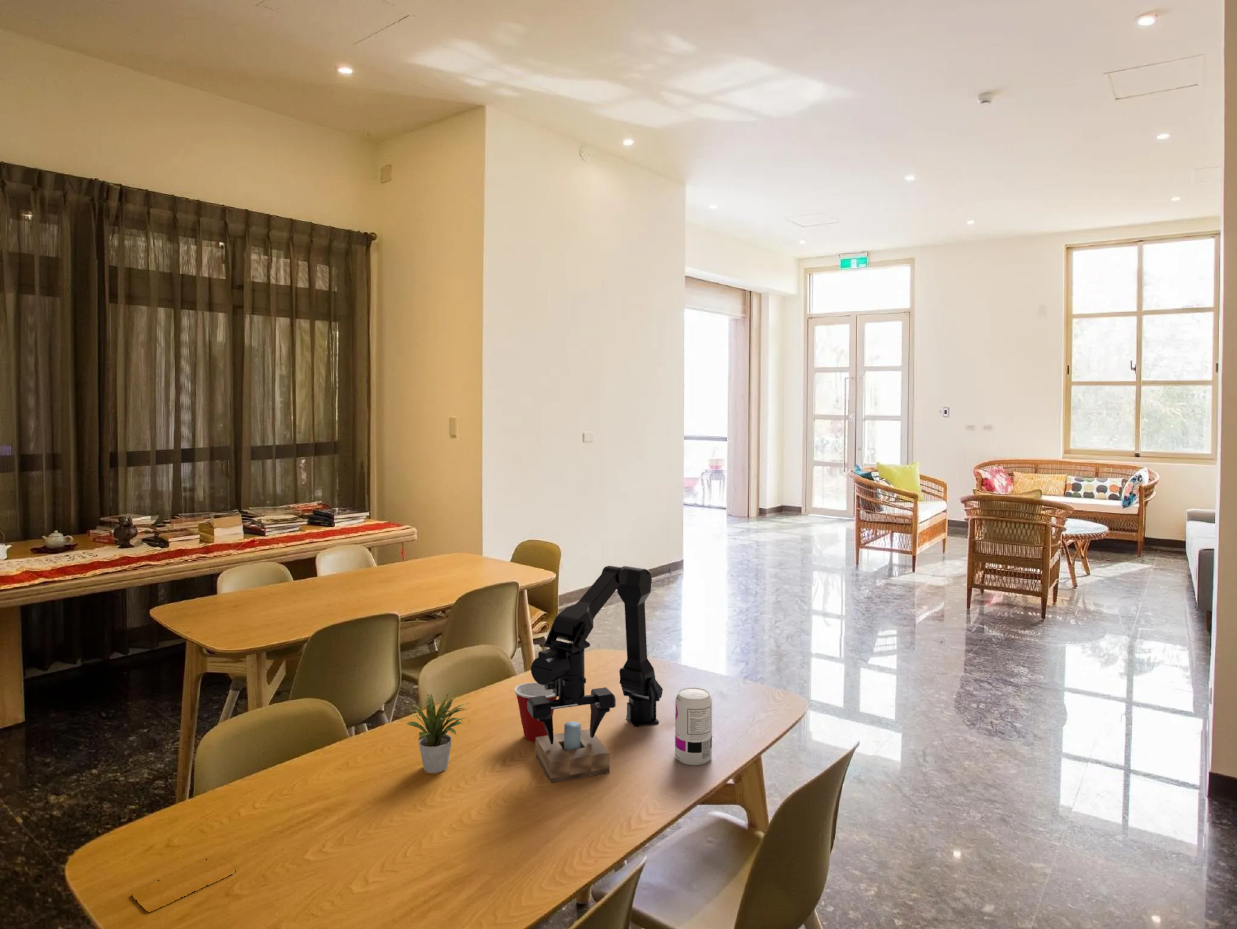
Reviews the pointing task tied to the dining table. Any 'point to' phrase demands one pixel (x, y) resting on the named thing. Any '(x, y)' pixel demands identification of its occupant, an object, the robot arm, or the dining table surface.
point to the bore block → (572, 757)
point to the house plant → (436, 734)
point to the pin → (572, 735)
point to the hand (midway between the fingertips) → (571, 740)
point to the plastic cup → (530, 725)
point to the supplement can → (693, 726)
